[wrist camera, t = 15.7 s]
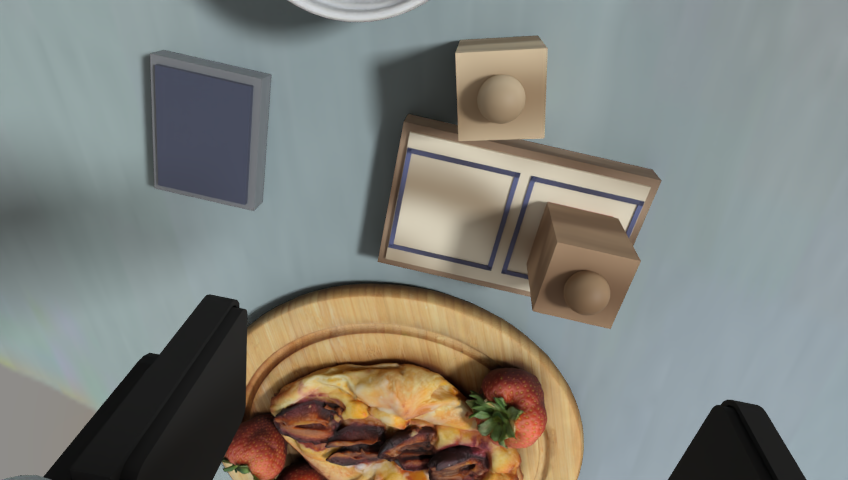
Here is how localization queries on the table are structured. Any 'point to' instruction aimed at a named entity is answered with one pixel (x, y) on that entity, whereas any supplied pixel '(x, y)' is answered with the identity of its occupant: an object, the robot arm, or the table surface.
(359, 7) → the ramekin
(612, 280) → the stamp
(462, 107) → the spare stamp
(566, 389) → the wooden plate with food
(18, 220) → the table surface
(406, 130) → the form board
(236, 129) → the ink pad
